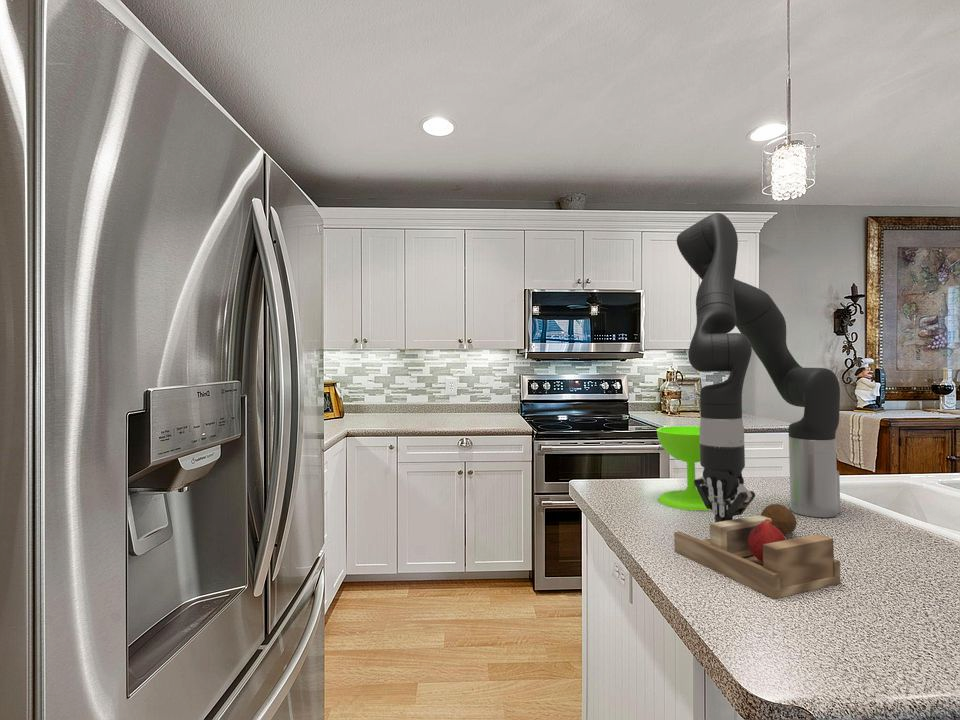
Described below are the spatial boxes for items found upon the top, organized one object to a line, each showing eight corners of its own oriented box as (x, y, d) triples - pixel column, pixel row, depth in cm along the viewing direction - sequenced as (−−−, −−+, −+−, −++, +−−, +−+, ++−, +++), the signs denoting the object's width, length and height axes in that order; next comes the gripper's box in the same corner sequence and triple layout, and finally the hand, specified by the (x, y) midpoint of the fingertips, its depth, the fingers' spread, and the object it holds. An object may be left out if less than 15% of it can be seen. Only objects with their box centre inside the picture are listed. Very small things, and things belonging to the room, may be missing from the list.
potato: (793, 529, 112) (792, 499, 112) (800, 544, 103) (800, 512, 103) (758, 526, 115) (757, 497, 115) (762, 541, 106) (761, 509, 106)
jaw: (760, 546, 98) (760, 515, 98) (772, 551, 96) (771, 518, 96) (710, 556, 94) (709, 523, 94) (721, 561, 92) (720, 527, 92)
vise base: (732, 540, 106) (731, 504, 106) (840, 583, 85) (839, 538, 85) (674, 551, 101) (673, 513, 101) (774, 598, 81) (772, 551, 81)
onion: (754, 571, 88) (753, 522, 88) (744, 558, 93) (743, 512, 93) (793, 573, 87) (791, 524, 87) (780, 560, 92) (779, 513, 92)
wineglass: (697, 514, 124) (695, 436, 124) (644, 499, 138) (643, 429, 138) (740, 503, 132) (738, 430, 132) (686, 490, 146) (684, 424, 146)
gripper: (767, 445, 94) (769, 544, 94) (711, 435, 106) (713, 523, 106) (733, 448, 91) (736, 550, 91) (680, 438, 104) (682, 528, 104)
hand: (724, 535), depth 99 cm, fingers closed
